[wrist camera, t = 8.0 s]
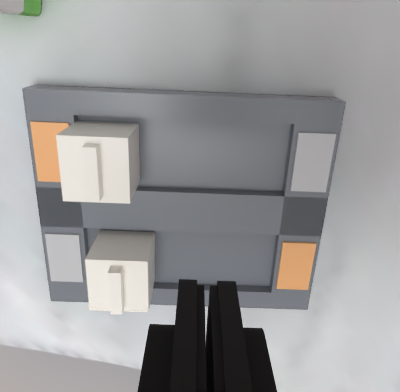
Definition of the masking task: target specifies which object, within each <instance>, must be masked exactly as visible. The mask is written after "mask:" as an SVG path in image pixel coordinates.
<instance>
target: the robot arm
mask: <svg viewBox="0 0 400 392" xmlns="http://www.w3.org/2000/svg"><path fill="white" fill-rule="evenodd" d="M138 392H277V390H276V385H275V380H274V376H273V371H272V367H271V362H270V357H269V353H268V348H267V344H266V339H265V335H264V331H263V329H262V328H243V325H242V318H241V312H240V305H239V298H238V292H237V285H236V281H217V285H210V290H209V304H208V318H207V332H206V347H205V294H204V285H197V280H192V279H179V285H178V297H177V308H176V320H175V325H159V324H150V326H149V330H148V335H147V341H146V347H145V353H144V358H143V364H142V370H141V376H140V381H139V387H138Z"/></svg>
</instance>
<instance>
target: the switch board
mask: <svg viewBox="0 0 400 392" xmlns="http://www.w3.org/2000/svg"><path fill="white" fill-rule="evenodd" d="M22 90H23V98H24V105H25V112H26V120H27V127H28V135H29V142H30V150H31V157H32V164H33V172H34V179H35V187H36V194H37V201H38V209H39V216H40V224H41V231H42V238H43V246H44V253H45V261H46V268H47V276H48V283H49V290H50V298H51V301H65V302H89V300H88V289H87V278H86V266H85V258H86V256H87V254H88V252H89V251H90V249H91V247H92V245H93V243H94V241H95V239H96V237H97V235H98V233H99V231H100V230H112V231H140V232H155V280H154V286H153V291H152V296H151V301H150V304H154V305H177V297H178V285H179V279H192V280H197V285H204V294H205V306H208V304H209V290H210V285H217V281H236V285H237V292H238V298H239V305H240V307H243V308H273V309H303V310H307V309H308V303H309V298H310V293H311V287H312V282H313V276H314V271H315V266H316V260H317V255H318V249H319V244H320V239H321V233H322V228H323V222H324V217H325V212H326V206H327V201H328V195H329V190H330V185H331V179H332V174H333V168H334V163H335V158H336V152H337V147H338V141H339V136H340V131H341V125H342V120H343V114H344V109H345V104H346V102H345V101H342V100H340V99H338V98H336V97H315V96H291V95H268V94H244V93H220V92H197V91H173V90H149V89H125V88H102V87H78V86H54V85H33V86H29V87H26V88H22ZM76 121H98V122H123V123H139V156H140V182H139V184H138V187H137V189H136V191H135V194H134V196H133V198H132V201H131V203H130V204H123V203H97V202H70V201H63V197H62V188H61V178H60V169H59V160H58V150H57V141H56V135H57V134H58V133H60V132H61V131H63V130H64V129H66V128H67V127H69V126H70V125H72V124H73V123H75V122H76Z"/></svg>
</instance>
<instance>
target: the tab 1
mask: <svg viewBox="0 0 400 392" xmlns="http://www.w3.org/2000/svg"><path fill="white" fill-rule="evenodd" d="M56 141H57V150H58V160H59V169H60V178H61V188H62V197H63V201H70V202H97V203H123V204H130V203H131V201H132V198H133V196H134V194H135V191H136V189H137V187H138V184H139V182H140V156H139V123H123V122H98V121H76V122H75V123H73V124H72V125H70V126H69V127H67V128H66V129H64V130H63V131H61V132H60V133H58V134H57V135H56Z"/></svg>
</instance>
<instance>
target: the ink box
mask: <svg viewBox="0 0 400 392" xmlns="http://www.w3.org/2000/svg"><path fill="white" fill-rule="evenodd" d="M0 13H7V14H17V15H27V16H39V15H40V13H41V0H0Z"/></svg>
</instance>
